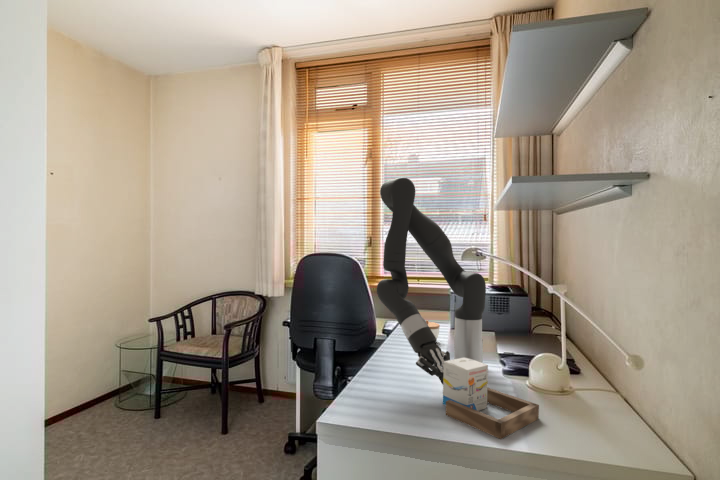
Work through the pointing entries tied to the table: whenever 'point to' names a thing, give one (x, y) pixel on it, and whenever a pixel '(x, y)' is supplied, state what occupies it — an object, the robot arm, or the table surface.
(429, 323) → the lidded jar
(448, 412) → the walnut corral
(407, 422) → the table surface
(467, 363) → the ink box
